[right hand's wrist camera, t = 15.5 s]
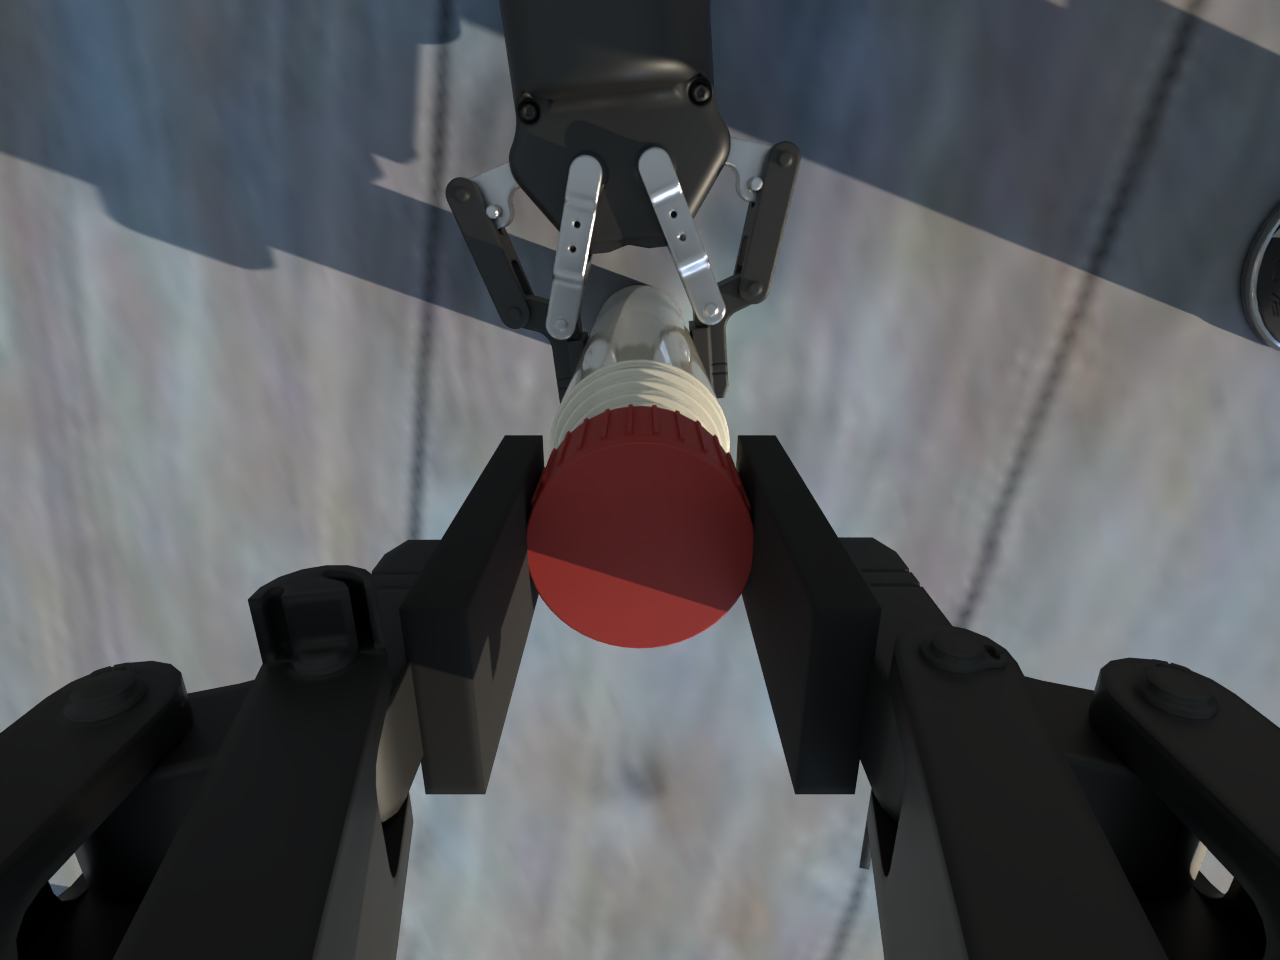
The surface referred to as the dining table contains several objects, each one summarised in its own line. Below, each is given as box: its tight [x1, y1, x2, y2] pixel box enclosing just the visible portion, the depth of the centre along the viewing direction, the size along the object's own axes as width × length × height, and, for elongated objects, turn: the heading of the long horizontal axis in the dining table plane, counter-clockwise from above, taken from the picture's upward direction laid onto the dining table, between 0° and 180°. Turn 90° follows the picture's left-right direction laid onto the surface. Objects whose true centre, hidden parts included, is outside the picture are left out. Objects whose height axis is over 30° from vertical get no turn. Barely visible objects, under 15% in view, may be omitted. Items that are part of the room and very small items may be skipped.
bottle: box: [550, 285, 730, 453], centre depth 24 cm, size 4×4×24 cm
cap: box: [527, 404, 754, 648], centre depth 13 cm, size 4×4×2 cm
